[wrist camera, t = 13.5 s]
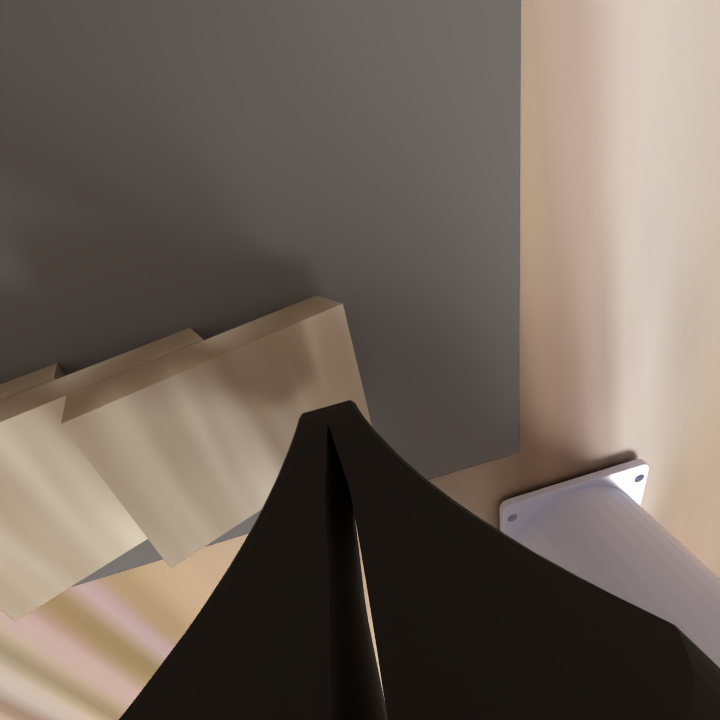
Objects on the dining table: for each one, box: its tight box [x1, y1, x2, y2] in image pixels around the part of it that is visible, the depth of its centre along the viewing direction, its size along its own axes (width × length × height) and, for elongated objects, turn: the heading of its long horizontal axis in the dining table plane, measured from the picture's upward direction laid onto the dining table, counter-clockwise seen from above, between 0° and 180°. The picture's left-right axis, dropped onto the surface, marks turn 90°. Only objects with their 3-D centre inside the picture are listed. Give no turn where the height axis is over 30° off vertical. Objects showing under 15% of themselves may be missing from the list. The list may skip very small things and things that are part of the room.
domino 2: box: [61, 295, 372, 569], centre depth 11 cm, size 2×5×7 cm
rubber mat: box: [0, 0, 521, 587], centre depth 11 cm, size 18×28×1 cm, turn 101°
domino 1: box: [0, 328, 204, 621], centre depth 10 cm, size 2×5×7 cm
